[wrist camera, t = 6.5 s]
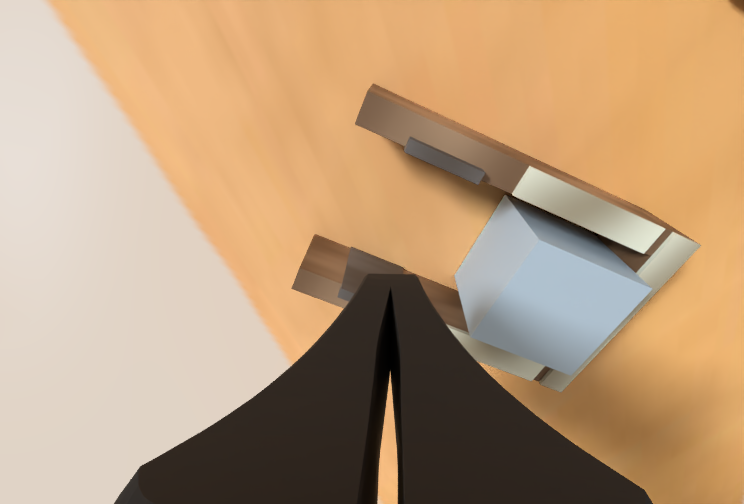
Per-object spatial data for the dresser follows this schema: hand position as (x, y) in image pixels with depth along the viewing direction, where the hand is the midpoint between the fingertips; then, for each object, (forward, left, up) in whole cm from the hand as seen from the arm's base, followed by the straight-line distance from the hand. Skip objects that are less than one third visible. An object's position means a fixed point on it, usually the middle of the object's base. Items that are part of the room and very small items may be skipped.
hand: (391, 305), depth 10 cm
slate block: (-7, +1, -9) cm, 12 cm away
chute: (-4, +1, -9) cm, 10 cm away
